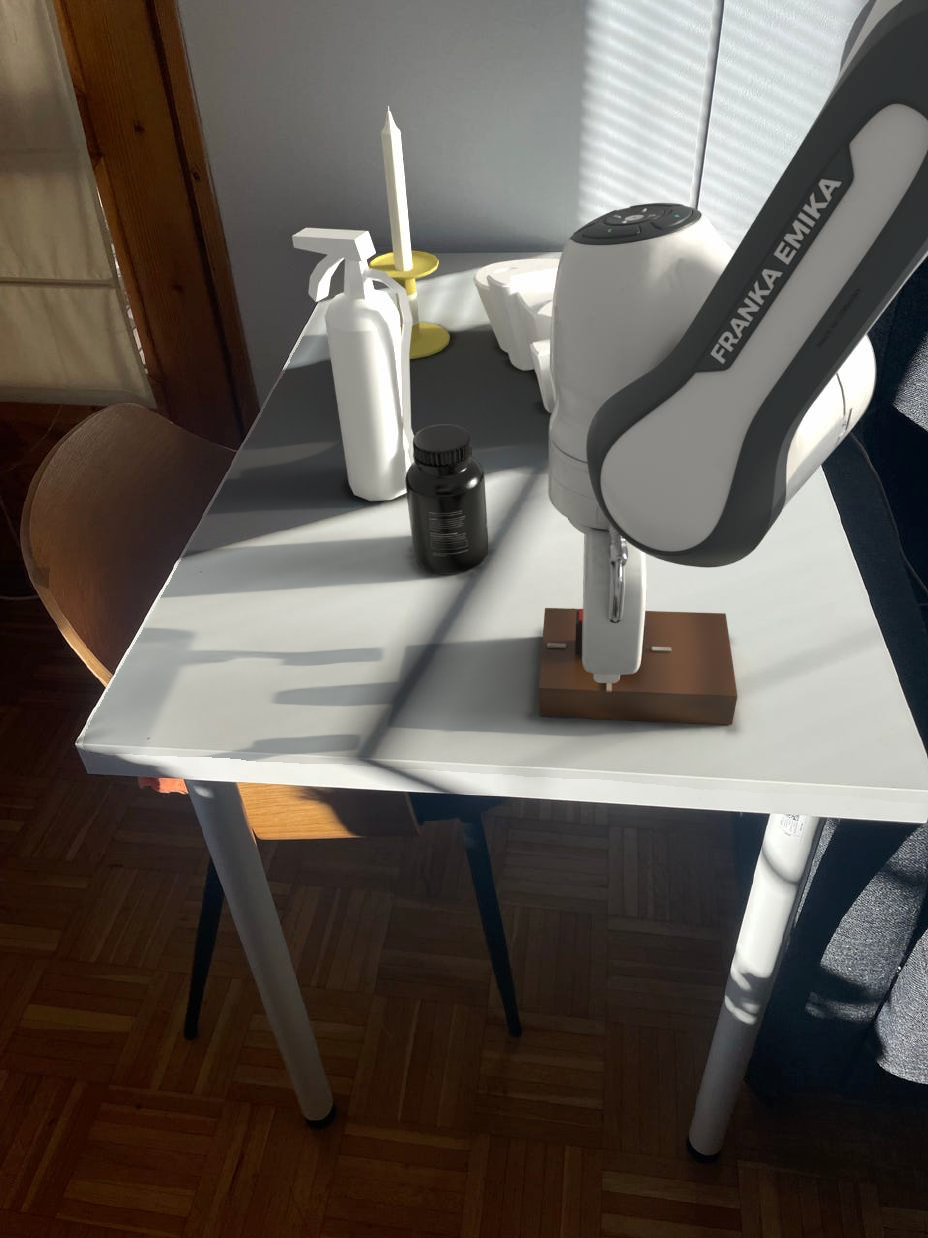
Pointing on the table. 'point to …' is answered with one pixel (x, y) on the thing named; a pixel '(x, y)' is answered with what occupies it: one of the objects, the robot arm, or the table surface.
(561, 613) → the dial panel
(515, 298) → the white wavy slab sculpture
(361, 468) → the fire extinguisher
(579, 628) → the black rectangular block
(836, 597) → the table surface
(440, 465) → the supplement bottle
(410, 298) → the candle
